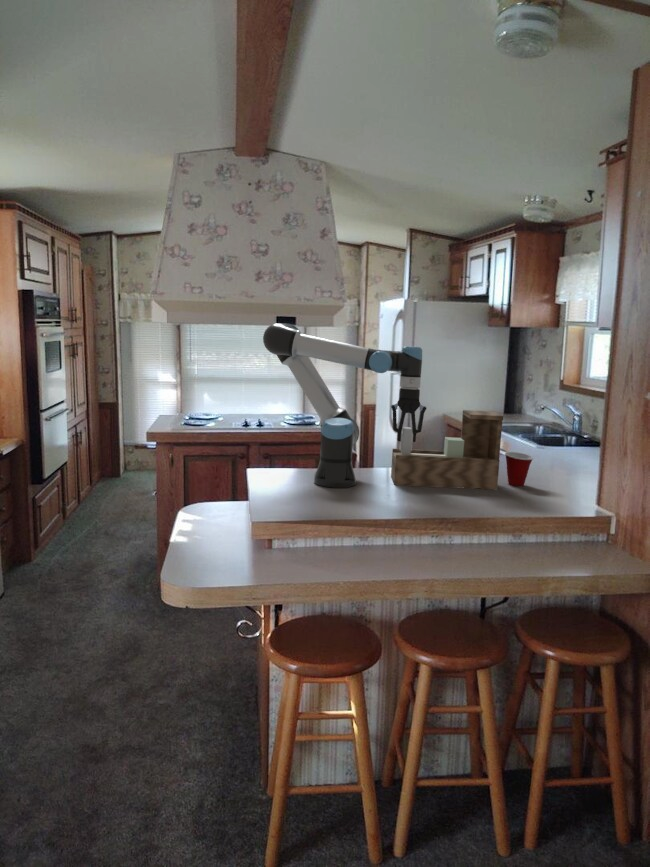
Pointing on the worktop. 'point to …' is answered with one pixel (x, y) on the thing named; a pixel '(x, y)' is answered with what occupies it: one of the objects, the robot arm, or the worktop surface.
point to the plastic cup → (517, 467)
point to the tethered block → (451, 449)
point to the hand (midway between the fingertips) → (405, 450)
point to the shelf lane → (464, 472)
